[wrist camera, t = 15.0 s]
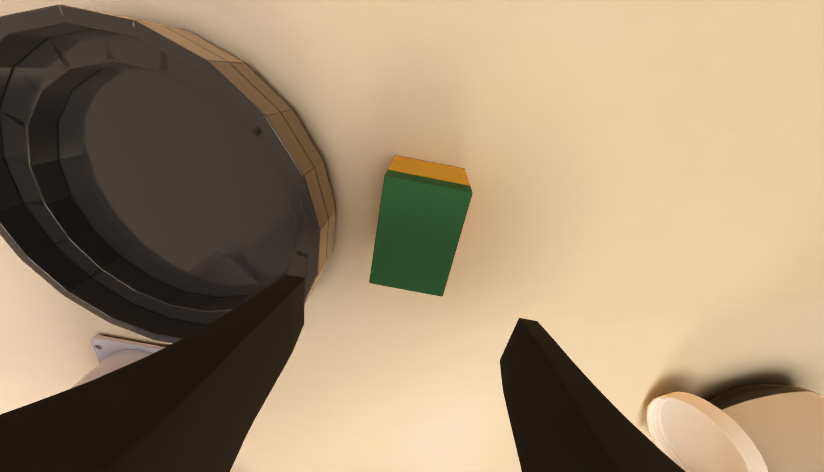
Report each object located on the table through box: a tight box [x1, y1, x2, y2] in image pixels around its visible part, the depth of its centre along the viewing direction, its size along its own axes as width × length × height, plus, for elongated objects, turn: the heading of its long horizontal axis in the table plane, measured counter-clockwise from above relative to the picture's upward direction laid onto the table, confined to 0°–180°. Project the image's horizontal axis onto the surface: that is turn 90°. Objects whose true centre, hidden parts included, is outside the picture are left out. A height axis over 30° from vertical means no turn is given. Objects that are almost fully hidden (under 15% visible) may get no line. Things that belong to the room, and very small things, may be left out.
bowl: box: [0, 5, 336, 343], centre depth 18 cm, size 18×18×4 cm
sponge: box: [369, 155, 472, 296], centre depth 17 cm, size 6×4×4 cm, turn 170°
